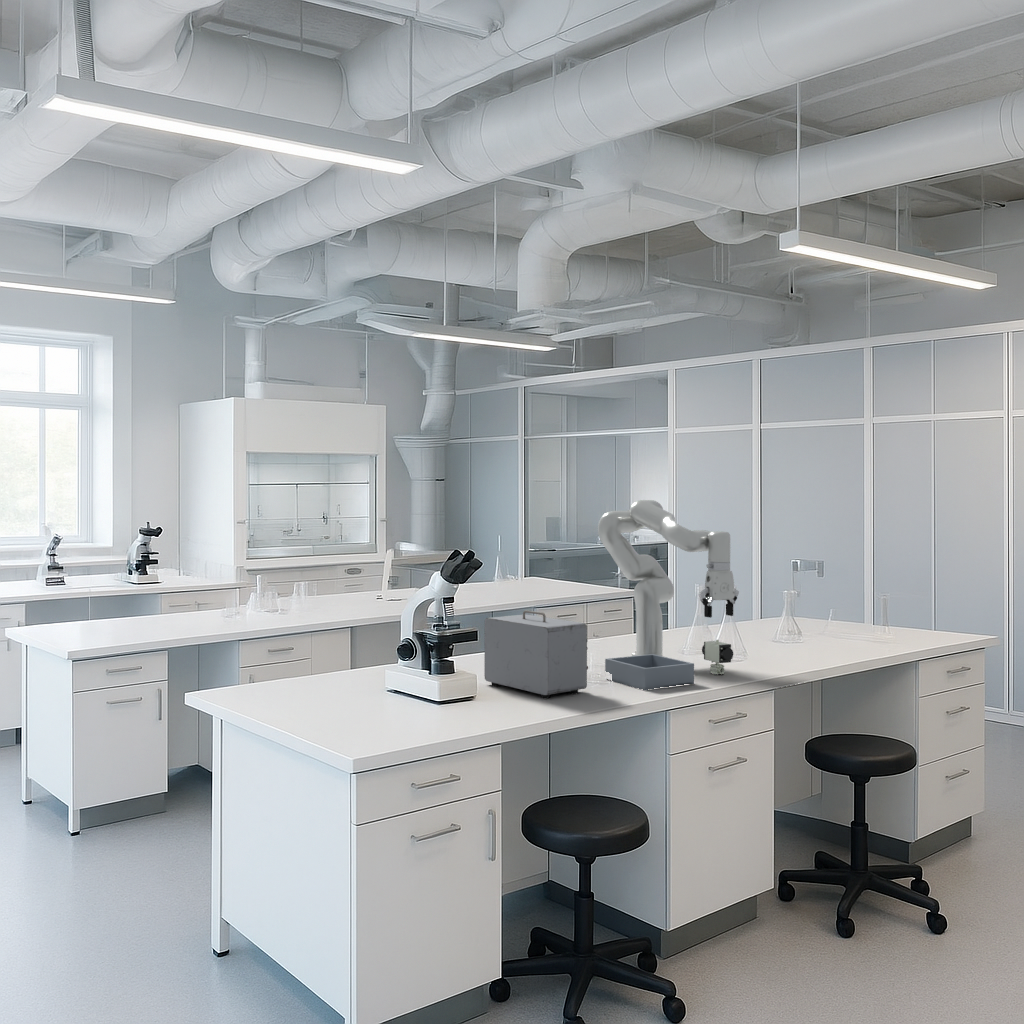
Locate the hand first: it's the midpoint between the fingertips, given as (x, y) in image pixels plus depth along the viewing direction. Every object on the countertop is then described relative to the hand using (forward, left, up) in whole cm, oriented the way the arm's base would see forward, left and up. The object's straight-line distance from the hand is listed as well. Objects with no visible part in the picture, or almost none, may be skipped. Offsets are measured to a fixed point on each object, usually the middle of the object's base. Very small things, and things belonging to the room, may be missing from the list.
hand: (718, 616), depth 339 cm
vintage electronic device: (-9, -68, -20) cm, 72 cm away
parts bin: (0, -30, -20) cm, 36 cm away
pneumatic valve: (0, 0, -20) cm, 20 cm away
